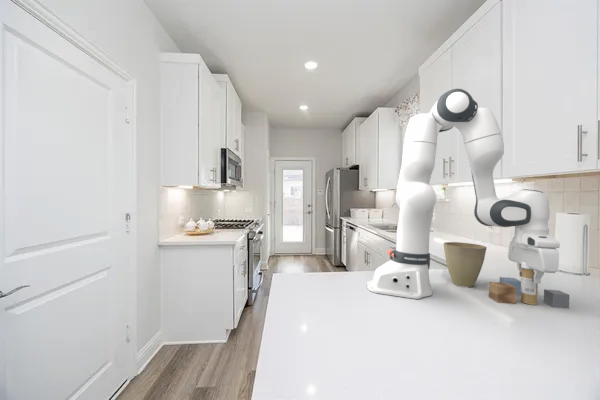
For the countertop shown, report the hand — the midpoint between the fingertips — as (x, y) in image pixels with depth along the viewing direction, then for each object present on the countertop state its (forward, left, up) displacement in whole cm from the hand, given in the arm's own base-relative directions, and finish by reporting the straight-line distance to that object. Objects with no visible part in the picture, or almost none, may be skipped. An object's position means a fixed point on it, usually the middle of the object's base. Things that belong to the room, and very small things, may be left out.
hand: (529, 280), depth 94 cm
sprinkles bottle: (0, 0, -8) cm, 8 cm away
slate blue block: (0, +11, -8) cm, 13 cm away
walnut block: (-8, 0, -8) cm, 11 cm away
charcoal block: (+8, 0, -8) cm, 11 cm away
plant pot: (-14, +17, -8) cm, 23 cm away
